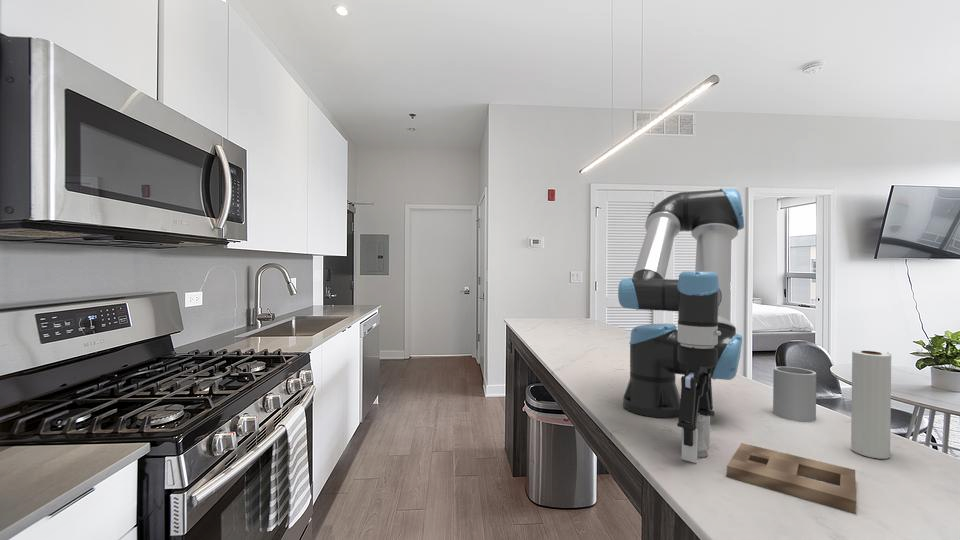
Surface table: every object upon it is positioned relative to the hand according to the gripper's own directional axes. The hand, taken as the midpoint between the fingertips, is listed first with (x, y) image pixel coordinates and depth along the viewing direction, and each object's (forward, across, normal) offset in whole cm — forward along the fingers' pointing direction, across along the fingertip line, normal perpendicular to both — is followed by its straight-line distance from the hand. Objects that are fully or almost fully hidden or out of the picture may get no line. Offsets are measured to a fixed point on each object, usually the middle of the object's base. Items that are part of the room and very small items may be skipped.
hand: (696, 452), depth 89 cm
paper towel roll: (0, +25, -28) cm, 38 cm away
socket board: (0, 0, -16) cm, 16 cm away
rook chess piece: (0, 0, 0) cm, 0 cm away
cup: (0, +43, -13) cm, 45 cm away
